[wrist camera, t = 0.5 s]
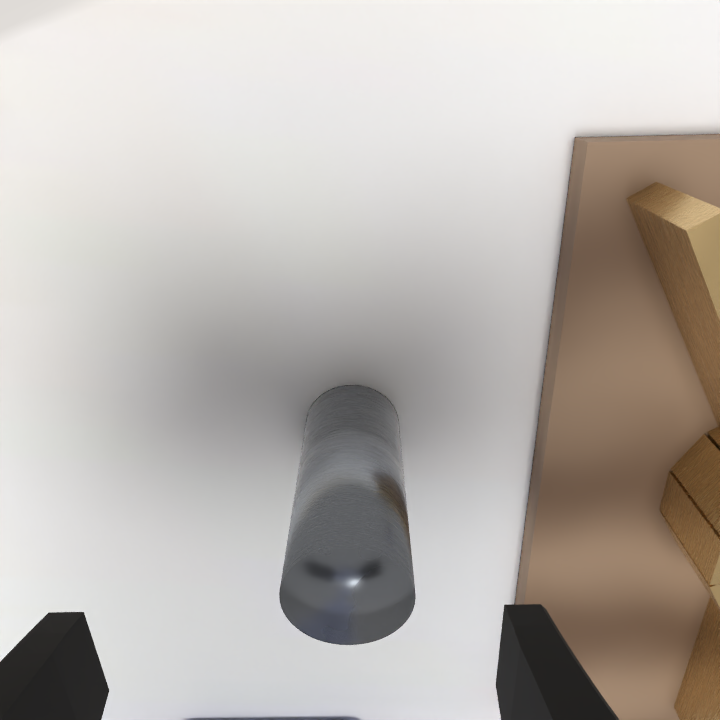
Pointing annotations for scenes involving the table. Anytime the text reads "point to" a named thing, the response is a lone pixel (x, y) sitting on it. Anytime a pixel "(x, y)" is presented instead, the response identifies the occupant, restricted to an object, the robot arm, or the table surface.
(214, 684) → the table surface
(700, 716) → the hinge
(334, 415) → the pin
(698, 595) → the board
